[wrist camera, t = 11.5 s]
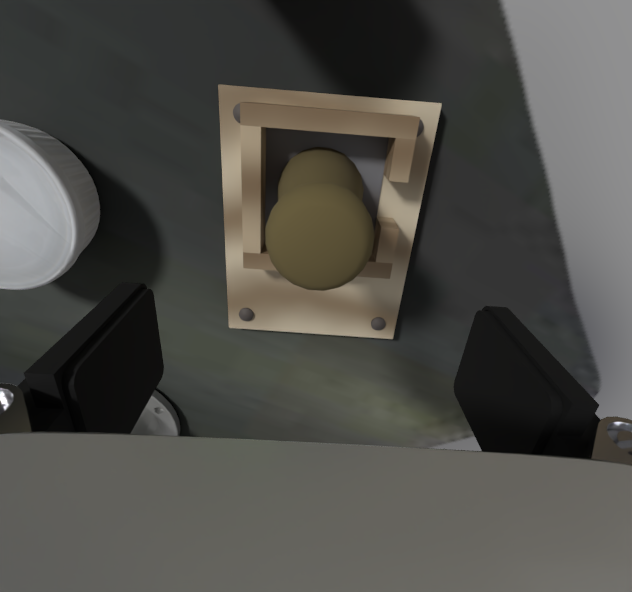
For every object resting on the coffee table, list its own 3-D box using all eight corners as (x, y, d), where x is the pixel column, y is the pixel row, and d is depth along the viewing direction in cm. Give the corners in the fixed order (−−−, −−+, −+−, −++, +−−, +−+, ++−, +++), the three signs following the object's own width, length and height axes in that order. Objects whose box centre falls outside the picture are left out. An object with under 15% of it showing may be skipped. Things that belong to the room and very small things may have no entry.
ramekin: (121, 140, 26) (78, 150, 21) (111, 278, 31) (74, 310, 26) (-53, 83, 24) (-141, 80, 20) (-34, 237, 30) (-100, 264, 25)
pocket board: (390, 331, 33) (398, 357, 30) (232, 320, 33) (222, 345, 29) (436, 103, 24) (454, 104, 21) (222, 85, 24) (207, 83, 21)
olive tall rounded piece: (259, 188, 26) (221, 244, 16) (325, 126, 24) (327, 147, 14) (316, 250, 28) (313, 332, 18) (381, 197, 26) (416, 257, 16)
